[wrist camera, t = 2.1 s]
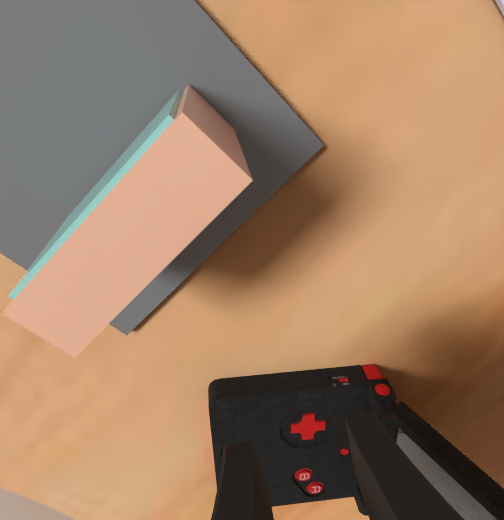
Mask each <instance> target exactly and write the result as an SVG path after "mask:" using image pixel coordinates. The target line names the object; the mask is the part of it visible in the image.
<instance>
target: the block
mask: <svg viewBox="0 0 504 520" xmlns="http://www.w3.org/2000/svg"><path fill="white" fill-rule="evenodd" d="M252 181H253V179H252V176H251V174H250V171H249V168H248V165H247V163H246V160H245V157H244V155H243V152H242V149H241V146H240V144H239V141H238V138H237V136H236V133H235V130H234V128H233V127H232V126H231V125H230V124H229V123H228V122H227V121H226V120H225V119H224V118H223V117H222V116H221V115H220V114H219V113H218V112H217V111H216V110H215V109H214V108H213V107H212V106H211V105H210V104H209V103H208V102H207V101H206V100H205V99H204V98H203V97H202V96H201V95H200V94H199V93H198V92H197V91H196V90H195V89H194V88H193V87H192V86H191V85H190V84H189V85H188V86H187V87H186V88H185V90H184V91H182V90H181V89H179V90H178V91H177V92H176V93H175V95H174V96H173V97H172V98H171V99H170V100H169V101H168V103H167V104H166V105H165V106H164V107H163V108H162V109H161V111H160V112H159V113H158V114H157V115H156V116H155V117H154V119H153V120H152V121H151V122H150V123H149V124H148V125H147V127H146V128H145V129H144V130H143V131H142V132H141V133H140V135H139V136H138V137H137V138H136V139H135V140H134V141H133V143H132V144H131V145H130V146H129V147H128V148H127V149H126V151H125V152H124V153H123V154H122V155H121V156H120V157H119V159H118V160H117V161H116V162H115V163H114V164H113V165H112V167H111V168H110V169H109V170H108V171H107V172H106V173H105V175H104V176H103V177H102V178H101V179H100V180H99V181H98V182H97V184H96V185H95V186H94V187H93V188H92V189H91V190H90V192H89V193H88V194H87V195H86V196H85V197H84V198H83V200H82V201H81V202H80V203H79V204H78V205H77V206H76V208H75V209H74V210H73V211H72V212H71V213H70V214H69V216H68V217H67V218H66V220H65V221H64V222H63V224H62V225H61V226H60V228H59V229H58V230H57V232H56V233H55V234H54V236H53V237H52V238H51V240H50V241H49V242H48V244H47V245H46V246H45V248H44V249H43V250H42V252H41V253H40V254H39V256H38V257H37V258H36V260H35V261H34V262H33V264H32V265H31V266H30V268H29V269H28V270H27V272H26V273H25V274H24V276H23V277H22V278H21V280H20V281H19V282H18V284H17V285H16V286H15V288H14V289H13V290H12V292H11V293H10V294H9V296H8V297H10V298H12V300H11V302H10V303H9V304H8V306H7V307H6V308H5V310H4V311H3V313H2V315H4V316H5V317H7V318H9V319H11V320H12V321H14V322H16V323H17V324H19V325H21V326H22V327H24V328H26V329H27V330H29V331H31V332H33V333H34V334H36V335H38V336H39V337H41V338H43V339H44V340H46V341H48V342H49V343H51V344H53V345H55V346H56V347H58V348H60V349H61V350H63V351H65V352H66V353H68V354H70V355H71V356H73V357H76V356H77V355H78V354H79V353H80V352H81V351H82V350H83V349H84V348H85V347H86V346H87V345H88V344H89V343H90V342H91V341H92V340H93V339H94V338H95V337H96V336H97V335H98V334H99V333H100V332H101V331H102V330H103V329H104V328H105V327H106V326H107V325H108V324H109V323H110V322H111V321H112V320H113V319H114V318H115V317H116V316H117V315H118V314H119V313H120V312H121V311H122V310H123V309H124V308H125V307H126V306H127V305H128V304H129V303H130V302H131V301H132V300H133V299H134V298H135V297H136V296H137V295H138V294H139V293H140V292H141V291H142V290H143V289H144V288H145V287H146V286H147V285H148V284H149V283H150V282H151V281H152V280H153V279H154V278H155V277H156V276H157V275H158V274H159V273H160V272H161V271H162V270H163V269H164V268H165V267H166V266H167V265H168V264H169V263H170V262H171V261H172V260H173V259H174V258H175V257H176V256H177V255H178V254H179V253H180V252H181V251H182V250H183V249H184V248H185V247H186V246H187V245H188V244H189V243H190V242H191V241H192V240H193V239H194V238H195V237H196V236H197V235H198V234H199V233H200V232H201V231H202V230H203V229H204V228H205V227H206V226H207V225H208V224H209V223H210V222H212V221H213V220H214V219H215V218H216V217H217V216H218V215H219V214H220V213H221V212H222V211H223V210H224V209H225V208H226V207H227V206H228V205H229V204H230V203H231V202H232V201H233V200H234V199H235V198H236V197H237V196H238V195H239V194H240V193H241V192H242V191H243V190H244V189H245V188H246V187H247V186H248V185H249V184H250V183H251V182H252Z"/></svg>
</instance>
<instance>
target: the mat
mask: <svg viewBox="0 0 504 520" xmlns="http://www.w3.org/2000/svg"><path fill="white" fill-rule="evenodd" d="M189 84H190V85H191V86H192V87H193V88H194V89H195V90H196V91H197V92H198V93H199V94H200V95H201V96H202V97H203V98H204V99H205V100H206V101H207V102H208V103H209V104H210V105H211V106H212V107H213V108H214V109H215V110H216V111H217V112H218V113H219V114H220V115H221V116H222V117H223V118H224V119H225V120H226V121H227V122H228V123H229V124H230V125H231V126H232V127H233V128H234V130H235V133H236V136H237V138H238V141H239V144H240V146H241V149H242V152H243V155H244V157H245V160H246V163H247V165H248V168H249V171H250V174H251V176H252V179H253V181H252V182H251V183H250V184H249V185H248V186H247V187H246V188H245V189H244V190H243V191H242V192H241V193H240V194H239V195H238V196H237V197H236V198H235V199H234V200H233V201H232V202H231V203H230V204H229V205H228V206H227V207H226V208H225V209H224V210H223V211H222V212H221V213H220V214H219V215H218V216H217V217H216V218H215V219H214V220H213V221H212V222H210V223H209V224H208V225H207V226H206V227H205V228H204V229H203V230H202V231H201V232H200V233H199V234H198V235H197V236H196V237H195V238H194V239H193V240H192V241H191V242H190V243H189V244H188V245H187V246H186V247H185V248H184V249H183V250H182V251H181V252H180V253H179V254H178V255H177V256H176V257H175V258H174V259H173V260H172V261H171V262H170V263H169V264H168V265H167V266H166V267H165V268H164V269H163V270H162V271H161V272H160V273H159V274H158V275H157V276H156V277H155V278H154V279H153V280H152V281H151V282H150V283H149V284H148V285H147V286H146V287H145V288H144V289H143V290H142V291H141V292H140V293H139V294H138V295H137V296H136V297H135V298H134V299H133V300H132V301H131V302H130V303H129V304H128V305H127V306H126V307H125V308H124V309H123V310H122V311H121V312H120V313H119V314H118V315H117V316H116V317H115V318H114V319H113V320H112V321H111V322H110V323H109V324H110V325H112V326H113V327H115V328H117V329H118V330H120V331H121V332H123V333H124V334H126V335H128V334H129V333H130V332H131V331H132V330H133V329H134V328H135V327H136V326H137V325H138V324H139V323H140V322H141V321H142V320H143V319H144V318H145V317H146V316H147V315H148V314H149V313H151V312H152V311H153V310H154V309H155V308H156V307H157V306H158V305H159V304H160V303H161V302H162V301H163V300H164V299H165V298H166V297H167V296H168V295H169V294H170V293H171V292H172V291H173V290H174V289H175V288H176V287H177V286H178V285H180V284H181V283H182V282H183V281H184V280H185V279H186V278H187V277H188V276H189V275H190V274H191V273H192V272H193V271H194V270H195V269H196V268H197V267H198V266H199V265H200V264H201V263H202V262H203V261H204V260H205V259H206V258H207V257H209V256H210V255H211V254H212V253H213V252H214V251H215V250H216V249H217V248H218V247H219V246H220V245H221V244H222V243H223V242H224V241H225V240H226V239H227V238H228V237H229V236H230V235H231V234H232V233H233V232H234V231H235V230H236V229H238V228H239V227H240V226H241V225H242V224H243V223H244V222H245V221H246V220H247V219H248V218H249V217H250V216H251V215H252V214H253V213H254V212H255V211H256V210H257V209H258V208H259V207H260V206H261V205H262V204H263V203H264V202H265V201H267V200H268V199H269V198H270V197H271V196H272V195H273V194H274V193H275V192H276V191H277V190H278V189H279V188H280V187H281V186H282V185H283V184H284V183H285V182H286V181H287V180H288V179H289V178H290V177H291V176H292V175H293V174H294V173H296V172H297V171H298V170H299V169H300V168H301V167H302V166H303V165H304V164H305V163H306V162H307V161H308V160H309V159H310V158H311V157H312V156H313V155H314V154H315V153H316V152H317V151H318V150H319V149H320V148H321V147H322V146H323V143H322V142H321V141H320V140H319V139H318V138H317V137H316V136H315V135H314V133H313V132H312V131H311V130H310V129H309V128H308V127H307V126H306V124H305V123H304V122H303V121H302V120H301V119H300V118H299V117H298V116H297V114H296V113H295V112H294V111H293V110H292V109H291V108H290V107H289V105H288V104H287V103H286V102H285V101H284V100H283V99H282V98H281V97H280V95H279V94H278V93H277V92H276V91H275V90H274V89H273V88H272V86H271V85H270V84H269V83H268V82H267V81H266V80H265V79H264V78H263V76H262V75H261V74H260V73H259V72H258V71H257V70H256V69H255V67H254V66H253V65H252V64H251V63H250V62H249V61H248V60H247V59H246V57H245V56H244V55H243V54H242V53H241V52H240V51H239V50H238V48H237V47H236V46H235V45H234V44H233V43H232V42H231V41H230V40H229V38H228V37H227V36H226V35H225V34H224V33H223V32H222V31H221V29H220V28H219V27H218V26H217V25H216V24H215V23H214V22H213V21H212V19H211V18H210V17H209V16H208V15H207V14H206V13H205V12H204V10H203V9H202V8H201V7H200V6H199V5H198V4H197V3H196V2H195V0H0V253H1V254H3V255H4V256H6V257H7V258H9V259H11V260H12V261H14V262H15V263H17V264H18V265H20V266H21V267H23V268H24V269H26V270H28V269H29V268H30V266H31V265H32V264H33V262H34V261H35V260H36V258H37V257H38V256H39V254H40V253H41V252H42V250H43V249H44V248H45V246H46V245H47V244H48V242H49V241H50V240H51V238H52V237H53V236H54V234H55V233H56V232H57V230H58V229H59V228H60V226H61V225H62V224H63V222H64V221H65V220H66V218H67V217H68V216H69V214H70V213H71V212H72V211H73V210H74V209H75V208H76V206H77V205H78V204H79V203H80V202H81V201H82V200H83V198H84V197H85V196H86V195H87V194H88V193H89V192H90V190H91V189H92V188H93V187H94V186H95V185H96V184H97V182H98V181H99V180H100V179H101V178H102V177H103V176H104V175H105V173H106V172H107V171H108V170H109V169H110V168H111V167H112V165H113V164H114V163H115V162H116V161H117V160H118V159H119V157H120V156H121V155H122V154H123V153H124V152H125V151H126V149H127V148H128V147H129V146H130V145H131V144H132V143H133V141H134V140H135V139H136V138H137V137H138V136H139V135H140V133H141V132H142V131H143V130H144V129H145V128H146V127H147V125H148V124H149V123H150V122H151V121H152V120H153V119H154V117H155V116H156V115H157V114H158V113H159V112H160V111H161V109H162V108H163V107H164V106H165V105H166V104H167V103H168V101H169V100H170V99H171V98H172V97H173V96H174V95H175V93H176V92H177V91H178V90H179V89H181V90H182V91H184V90H185V88H186V87H187V86H188V85H189Z"/></svg>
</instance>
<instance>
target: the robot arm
mask: <svg viewBox="0 0 504 520" xmlns="http://www.w3.org/2000/svg"><path fill="white" fill-rule="evenodd" d="M495 1H496V3H497V5H498V7H499V9H500V10H501V12H502V14H503V16H504V0H495ZM345 421H346V427H347V433H348V438H349V444H350V450H351V456H352V461H353V467H354V472H355V475H356V479H357V482H358V485H359V488H360V491H361V494H362V497H363V500H364V503H365V506H366V509H367V512H368V515H369V518H370V520H465V519H464V518H463V517H462V516H461V515H460V514H459V513H458V512H457V511H456V510H455V509H454V508H453V507H452V506H451V505H450V504H449V503H448V502H447V501H446V500H445V499H444V497H443V496H442V495H441V494H440V493H439V492H438V491H437V490H436V489H435V488H434V486H433V485H432V484H431V483H430V482H429V481H428V480H427V479H426V478H425V477H424V475H423V474H422V473H421V472H420V471H419V470H418V469H417V467H416V466H415V465H414V464H413V463H412V462H411V460H410V459H409V458H408V457H407V455H406V454H405V453H404V452H403V451H402V449H401V448H400V447H399V446H398V444H397V443H396V442H395V441H394V439H393V438H392V437H391V435H390V434H389V433H388V431H387V430H386V429H385V427H384V426H383V425H382V423H381V422H380V420H379V419H378V417H377V416H376V414H375V413H373V412H371V411H369V412H364V413H360V414H356V415H352V416H348V417H345ZM211 520H274V518H273V513H272V507H271V501H270V496H269V491H268V488H267V486H266V483H265V480H264V477H263V474H262V471H261V468H260V465H259V462H258V459H257V456H256V453H255V450H254V447H253V444H252V441H247V442H243V443H239V444H235V445H231V446H227V447H226V448H225V449H224V450H223V456H222V464H221V471H220V478H219V484H218V489H217V494H216V499H215V504H214V509H213V513H212V518H211Z"/></svg>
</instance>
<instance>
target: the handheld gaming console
mask: <svg viewBox="0 0 504 520" xmlns="http://www.w3.org/2000/svg"><path fill="white" fill-rule="evenodd" d="M208 395H209V415H210V425H211V434H212V444H213V453H214V463H215V472H216V481H217V489H218V484H219V478H220V471H221V464H222V456H223V450H224V449H225V448H226V447H227V446H231V445H235V444H239V443H243V442H247V441H252V444H253V447H254V450H255V453H256V456H257V459H258V462H259V465H260V468H261V471H262V474H263V477H264V480H265V483H266V486H267V488H268V491H269V496H270V501H271V507H273V506H281V505H289V504H297V503H306V502H314V501H322V500H330V499H338V498H347V497H354V498H355V501H356V503H357V506H358V509H359V512H360V513H362V514H363V515H368V512H367V509H366V506H365V503H364V500H363V497H362V494H361V491H360V488H359V485H358V482H357V479H356V475H355V472H354V467H353V461H352V456H351V450H350V444H349V438H348V433H347V427H346V421H345V417H348V416H352V415H356V414H360V413H364V412H369V411H371V412H373V413H375V414H376V416H377V417H378V419H379V420H380V422H381V423H382V425H383V426H384V427H385V429H386V430H387V431H388V433H389V434H390V435H391V437H392V438H393V439H394V441H395V442H396V443H397V444H398V446H399V447H400V448H401V449H402V451H403V452H404V453H405V454H406V455H407V457H408V458H409V459H410V460H411V462H412V463H413V464H414V465H415V466H416V467H417V469H418V470H419V471H420V472H421V473H422V474H423V475H424V477H425V478H426V479H427V480H428V481H429V482H430V483H431V484H432V485H433V486H434V488H435V489H436V490H437V491H438V492H439V493H440V494H441V495H442V496H443V497H444V499H445V500H446V501H447V502H448V503H449V504H450V505H451V506H452V507H453V508H454V509H455V510H456V511H457V512H458V513H459V514H460V515H461V516H462V517H463V518H464V519H465V520H504V489H503V488H502V487H501V486H500V485H499V484H497V483H496V482H495V481H494V480H493V479H492V478H490V477H489V476H488V475H487V474H486V473H485V472H483V471H482V470H481V469H480V468H479V467H478V466H476V465H475V464H474V463H473V462H472V461H471V460H470V459H468V458H467V457H466V456H465V455H464V454H463V453H461V452H460V451H459V450H458V449H457V448H456V447H454V446H453V445H452V444H451V443H450V442H449V441H447V440H446V439H445V438H444V437H443V436H442V435H440V434H439V433H438V432H437V431H436V430H435V429H433V428H432V427H431V426H430V425H429V424H428V423H426V422H425V421H424V420H423V419H422V418H421V417H419V416H418V415H417V414H416V413H415V412H414V411H412V410H411V409H410V408H409V407H408V406H407V405H406V404H404V403H403V402H400V403H398V404H396V405H395V401H396V395H395V393H394V391H393V389H392V387H391V385H390V384H389V382H388V380H387V378H386V379H384V378H383V377H382V375H381V373H380V371H379V369H378V367H377V366H376V365H366V366H362V368H361V366H360V365H356V366H345V367H335V368H325V369H315V370H304V371H294V372H284V373H274V374H263V375H253V376H243V377H233V378H222V379H217V380H214V381H213V382H211V383H210V385H209V388H208Z"/></svg>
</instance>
